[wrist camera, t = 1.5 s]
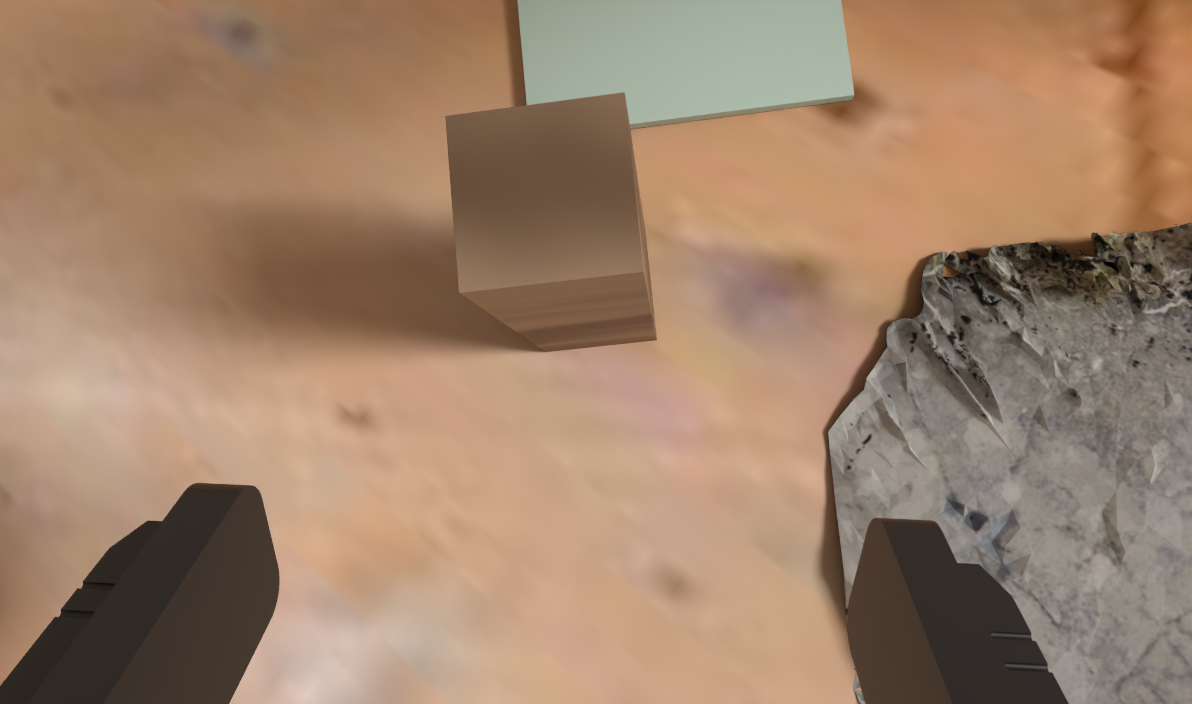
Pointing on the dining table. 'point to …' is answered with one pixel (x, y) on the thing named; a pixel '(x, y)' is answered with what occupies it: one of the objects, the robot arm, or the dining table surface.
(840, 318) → the dining table surface
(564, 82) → the mat
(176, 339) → the dining table surface
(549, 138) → the walnut block
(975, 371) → the stone fragment
